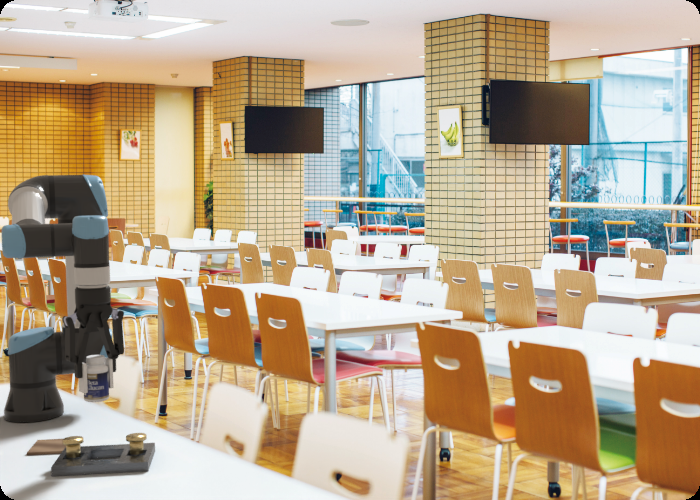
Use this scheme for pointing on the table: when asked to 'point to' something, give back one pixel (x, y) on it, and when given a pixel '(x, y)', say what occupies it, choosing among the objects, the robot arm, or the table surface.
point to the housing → (104, 460)
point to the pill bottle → (97, 379)
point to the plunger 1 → (73, 446)
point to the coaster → (47, 447)
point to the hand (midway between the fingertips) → (96, 389)
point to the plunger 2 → (136, 442)
